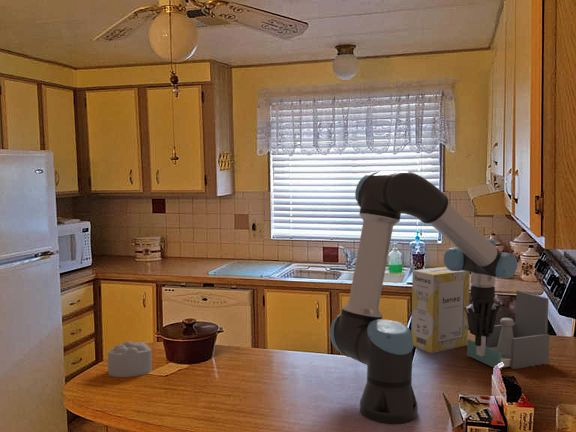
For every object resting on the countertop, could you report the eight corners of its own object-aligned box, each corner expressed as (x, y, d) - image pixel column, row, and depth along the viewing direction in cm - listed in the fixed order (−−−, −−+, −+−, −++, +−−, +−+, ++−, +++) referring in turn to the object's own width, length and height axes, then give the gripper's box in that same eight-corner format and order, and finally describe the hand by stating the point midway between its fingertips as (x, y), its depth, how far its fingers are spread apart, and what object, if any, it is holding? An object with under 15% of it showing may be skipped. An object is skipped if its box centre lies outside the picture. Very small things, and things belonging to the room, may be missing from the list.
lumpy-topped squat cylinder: (153, 373, 176) (153, 346, 175) (111, 380, 170) (110, 352, 169) (146, 363, 185) (145, 337, 184) (105, 369, 179) (105, 342, 178)
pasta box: (431, 353, 197) (433, 274, 194) (411, 345, 206) (412, 270, 204) (467, 345, 206) (469, 270, 204) (446, 338, 215) (448, 266, 213)
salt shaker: (497, 357, 187) (498, 319, 186) (496, 352, 192) (497, 315, 191) (515, 359, 185) (517, 321, 184) (514, 354, 191) (515, 317, 190)
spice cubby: (512, 369, 180) (515, 302, 179) (480, 354, 195) (482, 292, 193) (548, 363, 186) (550, 299, 184) (514, 350, 200) (516, 290, 198)
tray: (498, 369, 178) (499, 353, 178) (467, 355, 193) (467, 339, 192) (538, 363, 184) (538, 347, 184) (504, 350, 199) (505, 335, 198)
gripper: (474, 288, 178) (472, 360, 179) (506, 285, 182) (504, 356, 184) (459, 284, 185) (457, 353, 186) (490, 281, 189) (488, 349, 191)
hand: (480, 354), depth 185 cm, fingers closed
